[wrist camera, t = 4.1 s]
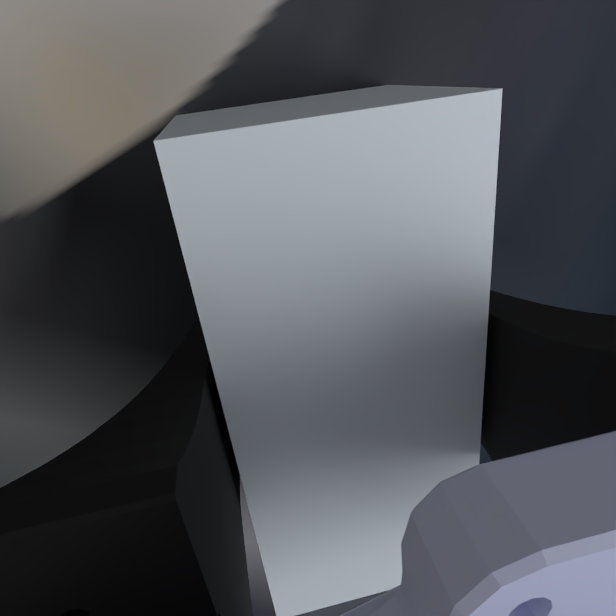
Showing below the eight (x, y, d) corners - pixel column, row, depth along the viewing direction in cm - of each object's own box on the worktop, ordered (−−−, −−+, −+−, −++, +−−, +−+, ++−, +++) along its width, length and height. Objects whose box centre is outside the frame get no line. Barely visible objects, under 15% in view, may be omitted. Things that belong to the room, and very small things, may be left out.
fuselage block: (400, 434, 16) (472, 567, 12) (257, 468, 16) (277, 620, 11) (386, 85, 11) (502, 87, 7) (175, 115, 11) (153, 140, 6)
